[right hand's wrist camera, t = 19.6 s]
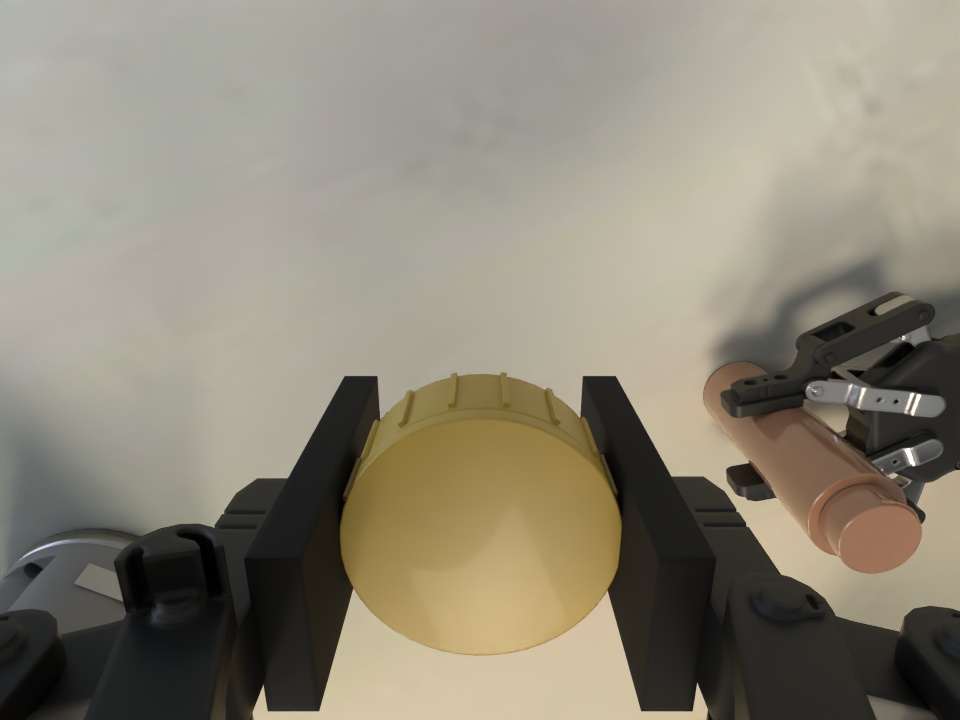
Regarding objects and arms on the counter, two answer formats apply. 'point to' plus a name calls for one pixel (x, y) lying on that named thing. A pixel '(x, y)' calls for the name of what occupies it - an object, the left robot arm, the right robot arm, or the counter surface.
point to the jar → (821, 480)
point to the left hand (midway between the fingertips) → (729, 444)
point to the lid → (480, 517)
